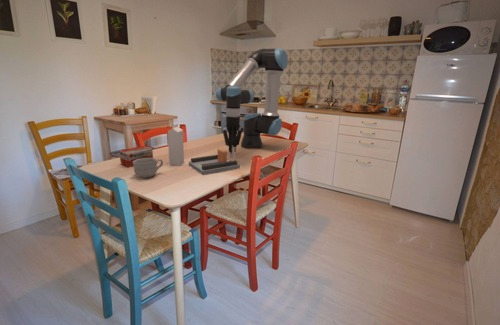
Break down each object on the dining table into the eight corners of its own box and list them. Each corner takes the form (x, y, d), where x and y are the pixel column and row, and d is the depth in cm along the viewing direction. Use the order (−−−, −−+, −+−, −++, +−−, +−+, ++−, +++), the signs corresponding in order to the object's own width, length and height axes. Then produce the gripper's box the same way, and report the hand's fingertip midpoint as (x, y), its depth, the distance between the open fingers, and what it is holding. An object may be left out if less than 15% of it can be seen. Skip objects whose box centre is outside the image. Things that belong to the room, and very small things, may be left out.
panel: (223, 159, 168) (223, 156, 168) (239, 168, 154) (239, 164, 154) (188, 165, 156) (188, 161, 156) (202, 175, 142) (202, 171, 142)
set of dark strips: (223, 157, 166) (223, 153, 166) (237, 164, 154) (237, 161, 153) (191, 161, 156) (191, 158, 155) (203, 170, 143) (203, 166, 142)
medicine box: (128, 168, 149) (127, 153, 146) (120, 164, 153) (119, 150, 151) (153, 161, 160) (152, 148, 158) (145, 158, 165) (144, 145, 162)
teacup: (134, 180, 132) (133, 164, 129) (133, 173, 141) (132, 157, 139) (165, 177, 137) (164, 161, 135) (162, 170, 147) (161, 155, 144)
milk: (169, 164, 156) (166, 125, 149) (174, 161, 161) (172, 123, 154) (179, 166, 154) (177, 126, 147) (184, 162, 160) (182, 124, 153)
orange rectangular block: (221, 159, 161) (221, 148, 158) (226, 162, 156) (227, 150, 154) (217, 160, 159) (217, 148, 157) (222, 163, 154) (222, 151, 152)
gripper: (239, 114, 160) (238, 154, 167) (219, 115, 153) (218, 157, 160) (246, 116, 154) (245, 157, 161) (225, 117, 147) (225, 160, 154)
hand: (232, 157), depth 160 cm, fingers closed
